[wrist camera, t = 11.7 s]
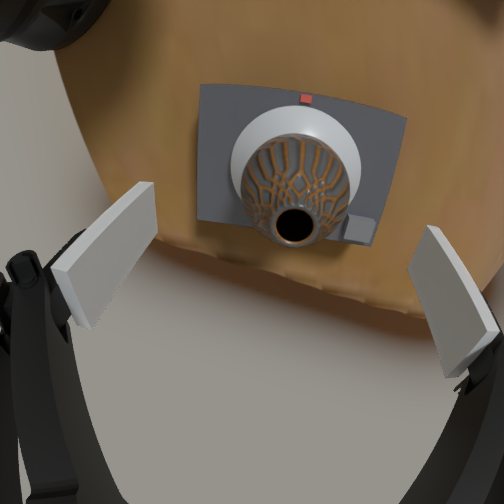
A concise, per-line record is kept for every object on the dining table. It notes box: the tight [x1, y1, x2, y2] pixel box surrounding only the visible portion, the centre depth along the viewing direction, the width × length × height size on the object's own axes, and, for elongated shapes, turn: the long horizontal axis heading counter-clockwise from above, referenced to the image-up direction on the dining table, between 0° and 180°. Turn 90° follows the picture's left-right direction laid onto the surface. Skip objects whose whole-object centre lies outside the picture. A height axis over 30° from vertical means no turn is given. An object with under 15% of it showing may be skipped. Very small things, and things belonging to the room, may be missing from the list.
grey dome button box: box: [197, 84, 407, 247], centre depth 22 cm, size 16×12×5 cm
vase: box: [240, 133, 350, 248], centre depth 17 cm, size 7×7×9 cm
